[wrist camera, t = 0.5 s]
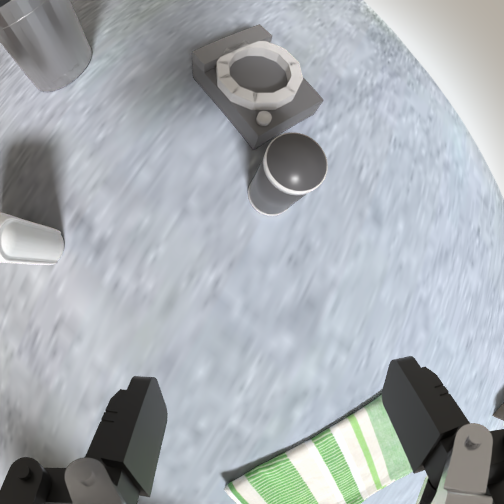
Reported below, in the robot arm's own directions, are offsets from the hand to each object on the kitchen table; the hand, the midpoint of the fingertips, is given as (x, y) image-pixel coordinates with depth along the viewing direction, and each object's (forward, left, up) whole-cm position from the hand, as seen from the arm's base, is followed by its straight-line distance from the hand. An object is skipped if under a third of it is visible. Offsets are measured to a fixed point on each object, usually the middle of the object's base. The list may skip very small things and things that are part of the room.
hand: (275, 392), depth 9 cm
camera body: (-18, +16, -21) cm, 32 cm away
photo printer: (-19, -15, -21) cm, 32 cm away
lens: (-7, +10, -21) cm, 24 cm away
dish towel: (+27, -5, -22) cm, 35 cm away
